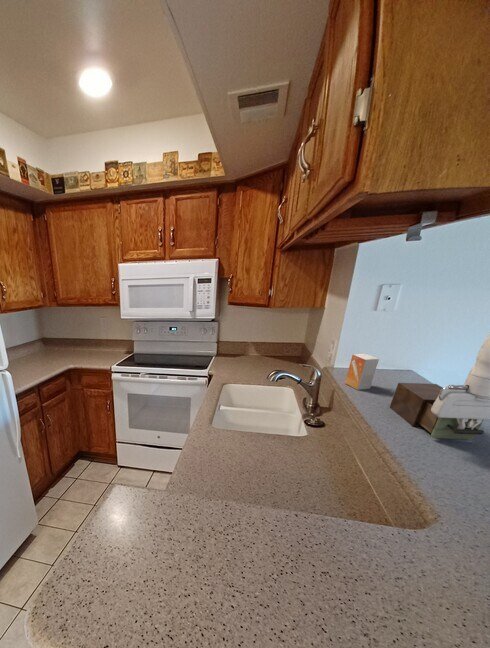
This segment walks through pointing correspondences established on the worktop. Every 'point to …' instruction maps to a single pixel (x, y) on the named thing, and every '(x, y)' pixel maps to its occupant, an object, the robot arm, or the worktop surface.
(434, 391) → the cabinet
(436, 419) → the drawer
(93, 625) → the worktop surface
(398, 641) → the worktop surface
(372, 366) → the small box
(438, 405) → the robot arm
